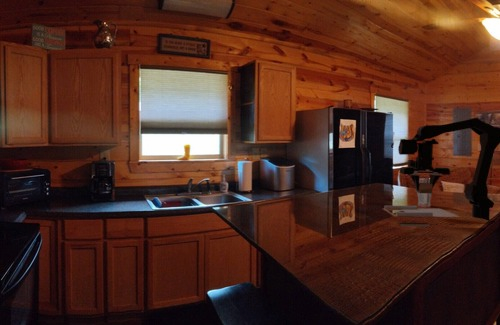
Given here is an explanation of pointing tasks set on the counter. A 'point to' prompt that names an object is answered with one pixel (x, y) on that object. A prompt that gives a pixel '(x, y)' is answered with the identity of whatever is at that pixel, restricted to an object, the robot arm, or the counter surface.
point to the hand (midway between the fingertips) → (423, 190)
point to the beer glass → (424, 195)
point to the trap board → (418, 212)
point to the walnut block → (424, 188)
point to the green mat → (413, 224)
